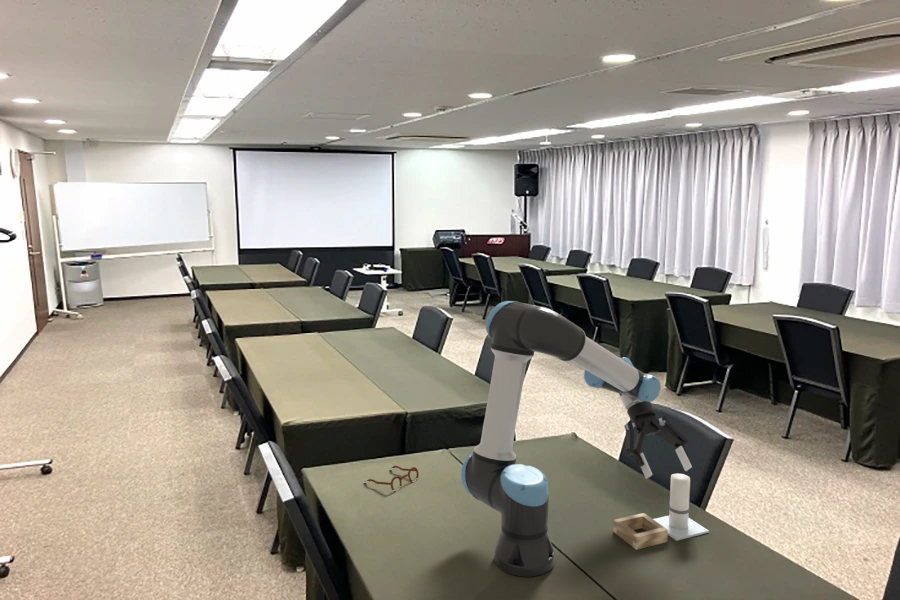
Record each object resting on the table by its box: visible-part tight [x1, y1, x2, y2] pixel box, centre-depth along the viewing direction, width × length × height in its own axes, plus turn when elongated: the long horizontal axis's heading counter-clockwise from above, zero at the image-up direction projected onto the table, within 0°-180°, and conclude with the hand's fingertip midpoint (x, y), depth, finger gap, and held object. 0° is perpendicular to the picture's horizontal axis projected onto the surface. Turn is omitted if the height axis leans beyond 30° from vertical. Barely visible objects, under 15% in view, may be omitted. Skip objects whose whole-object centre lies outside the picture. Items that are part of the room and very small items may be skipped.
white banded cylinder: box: [668, 473, 691, 530], centre depth 177 cm, size 5×5×14 cm
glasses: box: [366, 465, 419, 491], centre depth 211 cm, size 13×13×5 cm
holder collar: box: [612, 512, 669, 551], centre depth 174 cm, size 10×10×4 cm
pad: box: [652, 515, 710, 542], centre depth 179 cm, size 11×11×1 cm
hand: (669, 472), depth 182 cm, fingers open, 13 cm apart
